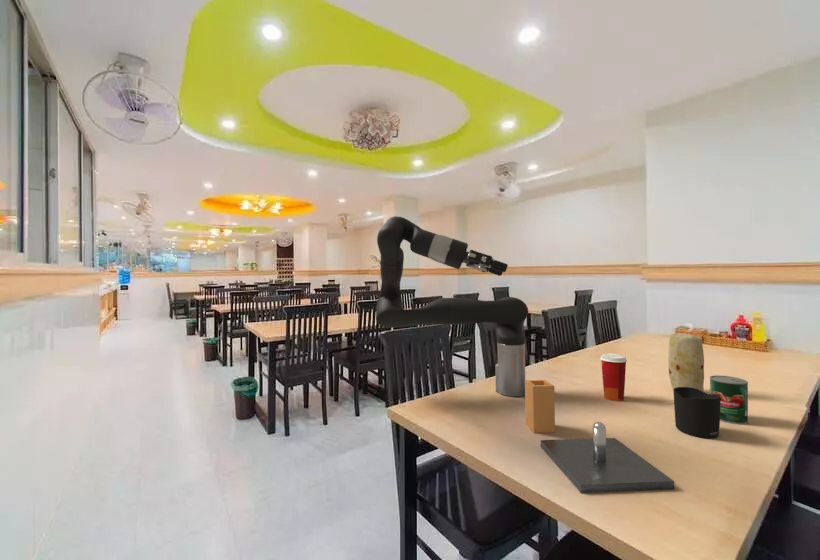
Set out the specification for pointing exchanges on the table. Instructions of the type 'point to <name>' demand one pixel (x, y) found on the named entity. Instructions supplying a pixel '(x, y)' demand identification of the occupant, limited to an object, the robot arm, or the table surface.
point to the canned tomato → (731, 398)
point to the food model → (686, 361)
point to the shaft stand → (604, 464)
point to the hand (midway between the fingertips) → (504, 270)
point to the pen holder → (697, 412)
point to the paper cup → (613, 376)
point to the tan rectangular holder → (540, 406)
